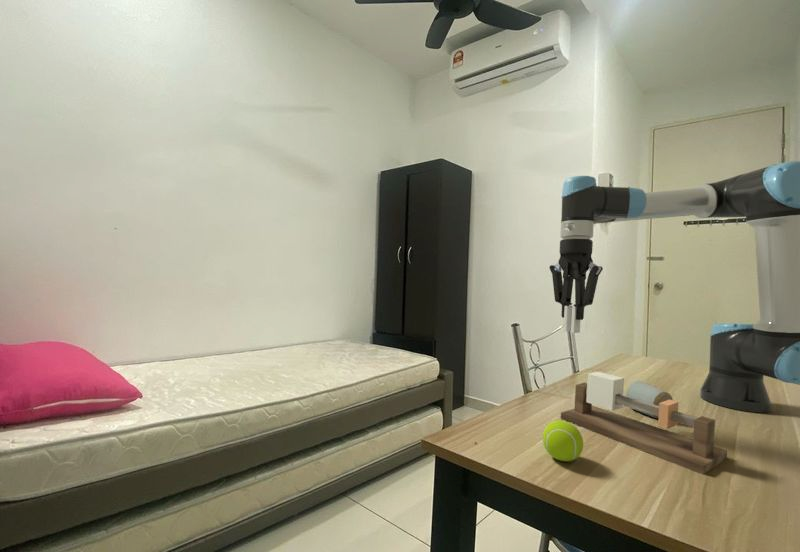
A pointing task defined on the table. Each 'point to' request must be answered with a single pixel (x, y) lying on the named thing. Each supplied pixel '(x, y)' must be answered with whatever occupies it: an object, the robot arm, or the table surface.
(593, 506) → the table surface
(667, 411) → the band
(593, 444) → the table surface
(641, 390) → the pale blue cylinder
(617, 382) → the sleeve
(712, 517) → the table surface
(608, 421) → the rail stand
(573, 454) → the tennis ball
